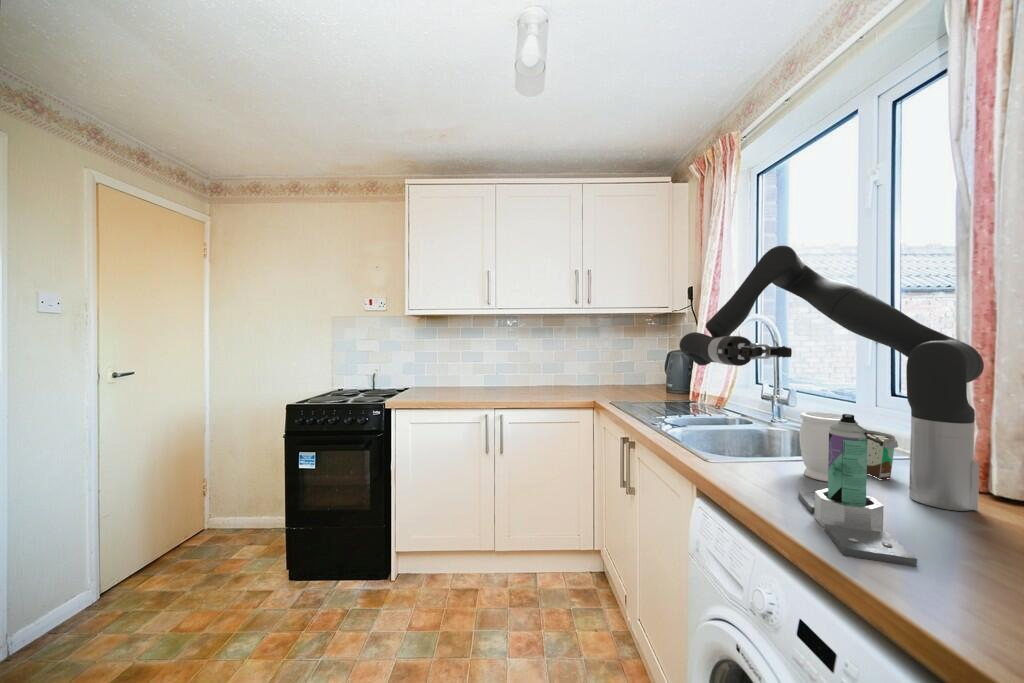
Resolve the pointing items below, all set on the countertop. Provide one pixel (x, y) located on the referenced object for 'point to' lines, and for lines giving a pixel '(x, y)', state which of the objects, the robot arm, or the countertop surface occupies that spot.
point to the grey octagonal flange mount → (857, 528)
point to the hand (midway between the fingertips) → (772, 352)
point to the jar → (816, 442)
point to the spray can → (847, 462)
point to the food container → (880, 453)
